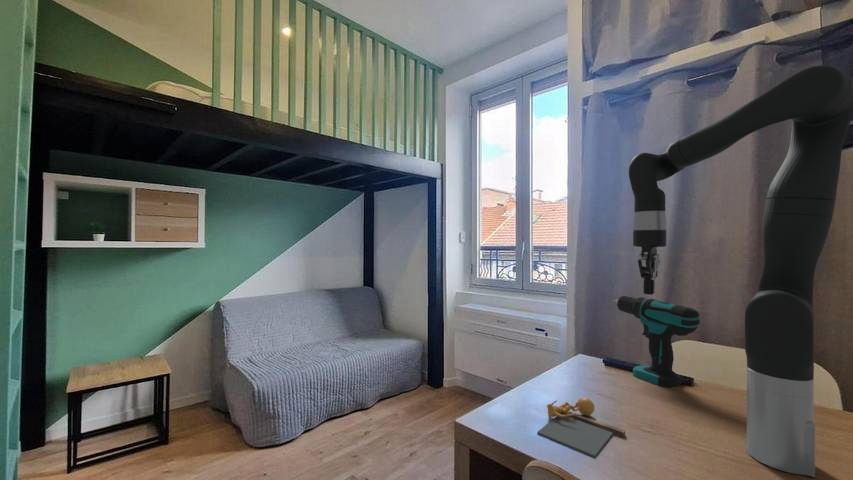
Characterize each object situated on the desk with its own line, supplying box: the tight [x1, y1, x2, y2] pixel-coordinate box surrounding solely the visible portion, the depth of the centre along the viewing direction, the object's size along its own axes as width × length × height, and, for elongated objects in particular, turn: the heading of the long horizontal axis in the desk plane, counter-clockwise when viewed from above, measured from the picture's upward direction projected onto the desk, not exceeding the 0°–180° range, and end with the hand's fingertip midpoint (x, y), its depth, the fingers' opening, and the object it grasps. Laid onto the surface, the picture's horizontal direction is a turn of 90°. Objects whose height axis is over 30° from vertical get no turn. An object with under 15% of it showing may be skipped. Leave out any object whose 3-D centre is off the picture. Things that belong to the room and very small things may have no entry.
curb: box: [561, 410, 626, 438], centre depth 82 cm, size 16×1×1 cm, turn 46°
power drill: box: [612, 295, 701, 389], centre depth 111 cm, size 26×9×25 cm, turn 25°
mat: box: [537, 414, 614, 458], centre depth 77 cm, size 12×12×1 cm
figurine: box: [546, 397, 595, 418], centre depth 85 cm, size 8×6×12 cm
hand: (649, 294), depth 92 cm, fingers closed
